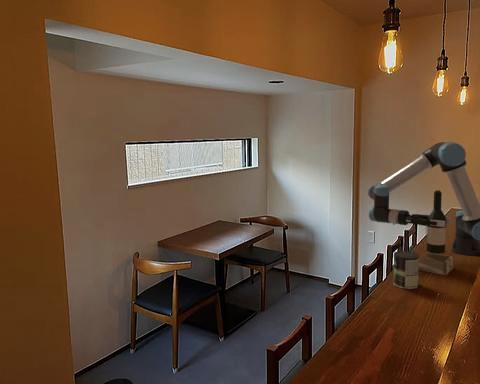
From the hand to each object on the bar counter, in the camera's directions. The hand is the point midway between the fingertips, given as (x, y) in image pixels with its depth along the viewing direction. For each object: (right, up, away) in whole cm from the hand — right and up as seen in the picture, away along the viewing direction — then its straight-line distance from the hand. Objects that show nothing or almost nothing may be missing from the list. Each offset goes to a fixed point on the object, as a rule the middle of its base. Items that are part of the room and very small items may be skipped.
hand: (447, 222), depth 188 cm
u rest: (-2, -23, +6) cm, 25 cm away
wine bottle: (-3, -15, +5) cm, 16 cm away
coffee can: (-25, -27, -12) cm, 39 cm away
